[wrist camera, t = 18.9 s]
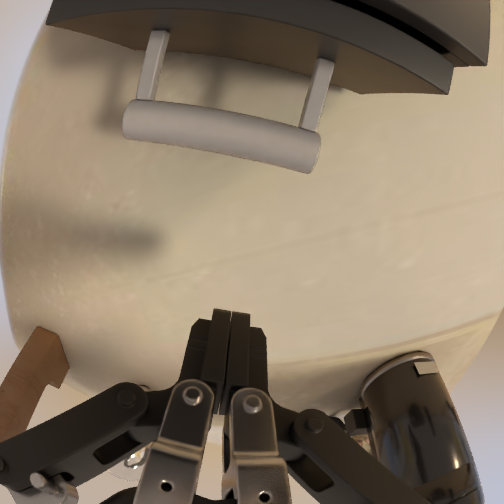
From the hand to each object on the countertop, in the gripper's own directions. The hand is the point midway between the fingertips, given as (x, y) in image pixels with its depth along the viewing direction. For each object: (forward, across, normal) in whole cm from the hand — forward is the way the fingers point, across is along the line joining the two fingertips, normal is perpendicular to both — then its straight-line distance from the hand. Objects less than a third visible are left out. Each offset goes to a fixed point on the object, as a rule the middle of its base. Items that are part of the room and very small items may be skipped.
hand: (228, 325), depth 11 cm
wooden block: (+8, +20, +18) cm, 28 cm away
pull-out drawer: (+6, +1, -16) cm, 17 cm away
